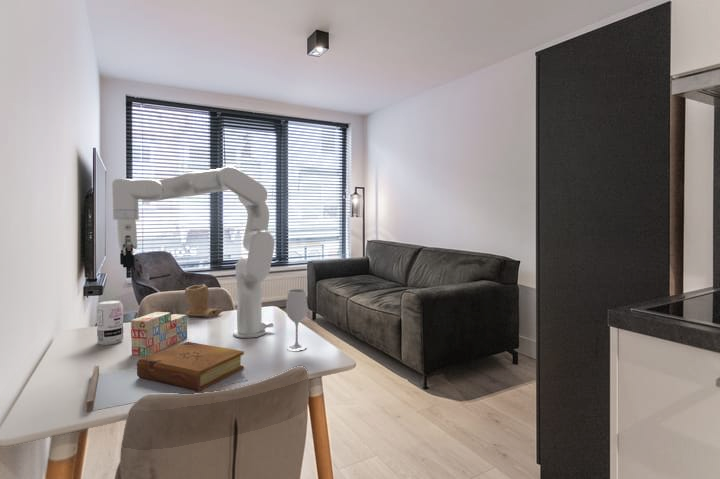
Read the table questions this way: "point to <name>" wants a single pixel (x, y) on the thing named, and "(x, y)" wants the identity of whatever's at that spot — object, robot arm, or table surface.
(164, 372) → the diary
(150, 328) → the stack of blocks
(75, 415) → the table surface
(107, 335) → the supplement can
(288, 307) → the wineglass
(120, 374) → the display board
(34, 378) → the table surface
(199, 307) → the stone cup
